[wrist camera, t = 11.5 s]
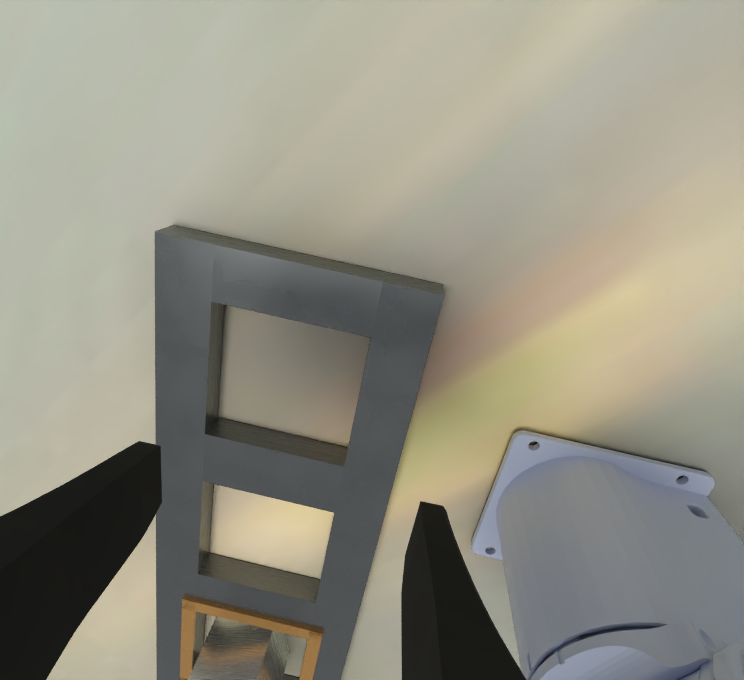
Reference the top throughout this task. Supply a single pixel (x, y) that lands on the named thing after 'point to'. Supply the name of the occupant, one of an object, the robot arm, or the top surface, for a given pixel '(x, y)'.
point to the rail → (274, 440)
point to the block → (241, 653)
